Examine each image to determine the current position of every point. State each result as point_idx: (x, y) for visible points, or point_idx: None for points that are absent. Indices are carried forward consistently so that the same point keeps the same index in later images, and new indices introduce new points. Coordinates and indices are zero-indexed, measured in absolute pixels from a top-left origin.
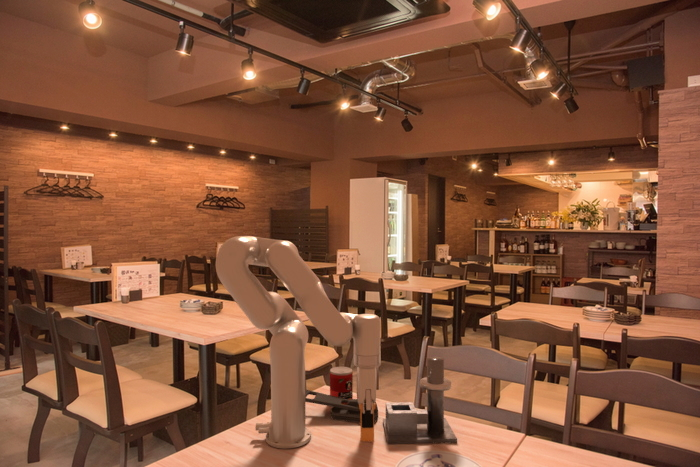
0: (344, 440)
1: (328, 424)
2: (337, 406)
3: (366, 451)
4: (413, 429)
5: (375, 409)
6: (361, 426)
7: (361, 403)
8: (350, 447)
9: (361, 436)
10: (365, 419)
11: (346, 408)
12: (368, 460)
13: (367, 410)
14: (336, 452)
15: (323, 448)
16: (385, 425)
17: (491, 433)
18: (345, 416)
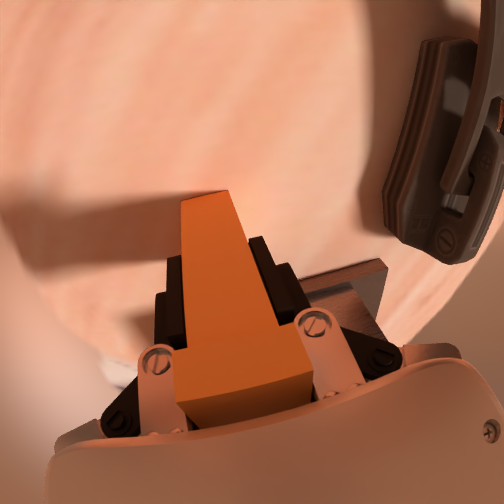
0: (176, 108)
1: (376, 9)
2: (477, 71)
3: (89, 246)
4: None
5: (434, 252)
6: (182, 250)
7: (207, 408)
8: (99, 164)
9: (181, 216)
10: (157, 325)
11: (464, 118)
12: (31, 267)
13: (87, 429)
14: (34, 113)
15: (61, 31)
16: (326, 290)
17: None
18: (427, 102)
